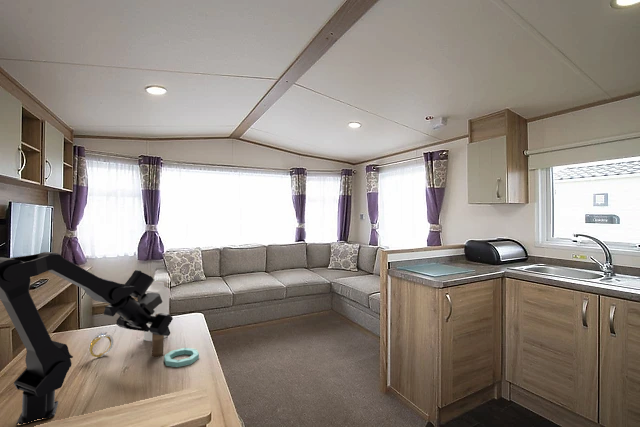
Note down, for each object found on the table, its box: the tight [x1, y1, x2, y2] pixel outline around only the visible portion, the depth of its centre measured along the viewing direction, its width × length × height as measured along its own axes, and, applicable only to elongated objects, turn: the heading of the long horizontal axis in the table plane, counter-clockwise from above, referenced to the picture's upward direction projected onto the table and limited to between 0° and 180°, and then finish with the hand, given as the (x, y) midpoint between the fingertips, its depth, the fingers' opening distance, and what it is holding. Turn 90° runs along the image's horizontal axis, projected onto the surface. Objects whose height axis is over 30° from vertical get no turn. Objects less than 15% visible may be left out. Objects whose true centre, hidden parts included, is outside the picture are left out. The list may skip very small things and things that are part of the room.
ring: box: [88, 331, 114, 358], centre depth 102 cm, size 7×3×8 cm, turn 145°
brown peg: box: [151, 313, 165, 359], centre depth 104 cm, size 4×4×14 cm
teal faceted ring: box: [163, 347, 200, 368], centre depth 102 cm, size 10×10×2 cm
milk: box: [143, 280, 171, 342], centre depth 118 cm, size 6×6×22 cm
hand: (158, 332), depth 104 cm, fingers open, 9 cm apart
